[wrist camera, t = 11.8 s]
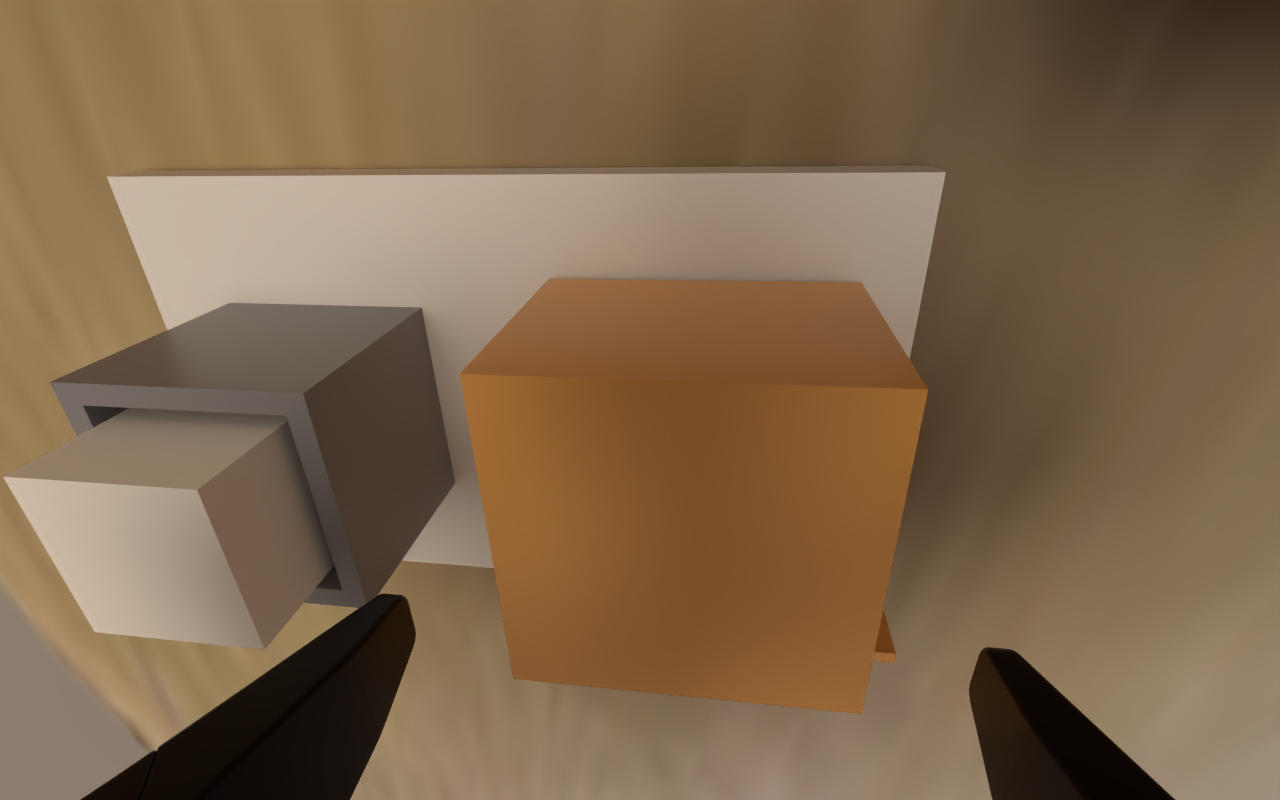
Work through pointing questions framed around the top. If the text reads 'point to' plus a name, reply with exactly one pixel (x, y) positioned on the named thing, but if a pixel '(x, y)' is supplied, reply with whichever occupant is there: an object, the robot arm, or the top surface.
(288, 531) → the block
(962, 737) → the top surface
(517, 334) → the cap
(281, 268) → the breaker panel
